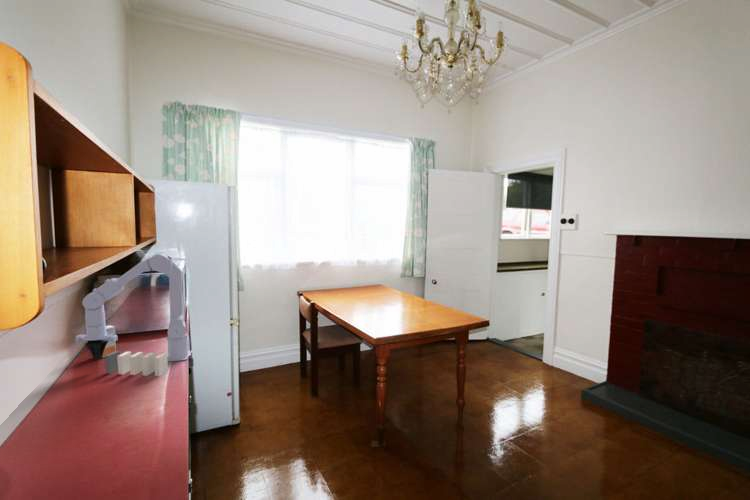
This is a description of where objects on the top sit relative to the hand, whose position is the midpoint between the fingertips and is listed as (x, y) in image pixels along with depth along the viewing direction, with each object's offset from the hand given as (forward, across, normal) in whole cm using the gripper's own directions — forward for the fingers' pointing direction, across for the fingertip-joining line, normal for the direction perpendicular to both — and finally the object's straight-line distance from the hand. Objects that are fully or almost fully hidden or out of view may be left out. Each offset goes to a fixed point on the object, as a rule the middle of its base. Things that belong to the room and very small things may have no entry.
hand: (98, 359), depth 128 cm
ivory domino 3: (+4, -20, +1) cm, 21 cm away
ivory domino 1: (+4, -11, +1) cm, 12 cm away
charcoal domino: (+4, -6, 0) cm, 7 cm away
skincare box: (+5, +9, -14) cm, 17 cm away
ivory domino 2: (+4, -16, +1) cm, 16 cm away
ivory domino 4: (+4, -25, +1) cm, 26 cm away
